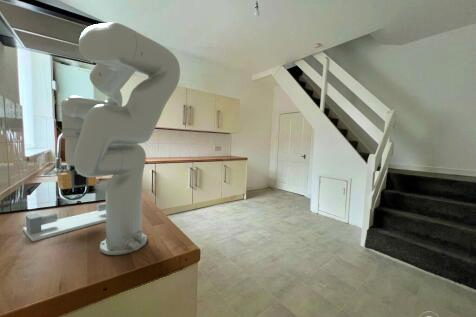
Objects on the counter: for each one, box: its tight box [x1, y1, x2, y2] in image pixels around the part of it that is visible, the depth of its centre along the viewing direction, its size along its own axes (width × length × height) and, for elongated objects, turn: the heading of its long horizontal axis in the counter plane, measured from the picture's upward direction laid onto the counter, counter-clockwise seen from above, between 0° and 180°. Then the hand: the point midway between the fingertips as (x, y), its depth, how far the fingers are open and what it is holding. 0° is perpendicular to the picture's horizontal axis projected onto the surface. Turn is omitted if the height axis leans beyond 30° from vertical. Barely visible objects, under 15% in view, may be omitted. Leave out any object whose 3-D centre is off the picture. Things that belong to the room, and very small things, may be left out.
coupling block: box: [56, 169, 97, 190], centre depth 74 cm, size 5×10×6 cm, turn 146°
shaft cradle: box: [22, 202, 106, 242], centre depth 75 cm, size 12×27×6 cm, turn 146°
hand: (77, 183), depth 74 cm, fingers closed on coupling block, 5 cm apart
